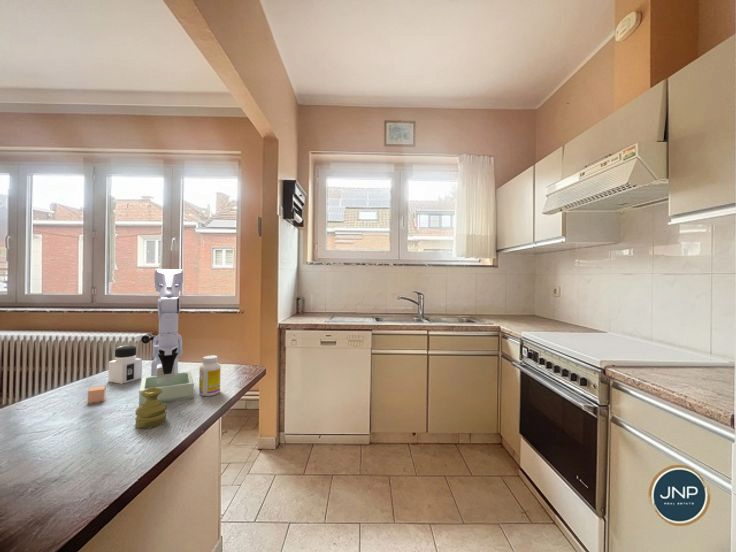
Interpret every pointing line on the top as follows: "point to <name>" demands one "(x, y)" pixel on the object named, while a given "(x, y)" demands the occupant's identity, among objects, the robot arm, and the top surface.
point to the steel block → (164, 375)
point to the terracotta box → (96, 394)
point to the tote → (169, 388)
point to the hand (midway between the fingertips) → (167, 371)
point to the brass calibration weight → (151, 410)
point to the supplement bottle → (209, 376)
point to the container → (125, 365)
